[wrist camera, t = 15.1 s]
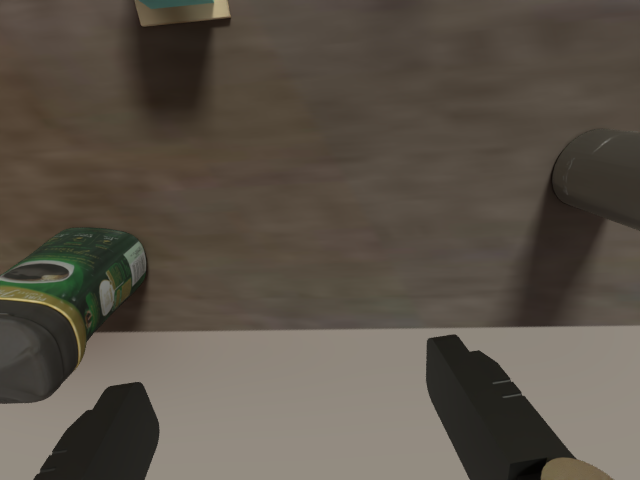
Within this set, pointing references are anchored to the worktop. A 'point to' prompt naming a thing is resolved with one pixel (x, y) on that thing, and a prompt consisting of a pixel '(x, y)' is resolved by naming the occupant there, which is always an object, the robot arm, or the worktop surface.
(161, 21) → the post
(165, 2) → the teal tower prism
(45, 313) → the coffee jar
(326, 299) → the worktop surface
